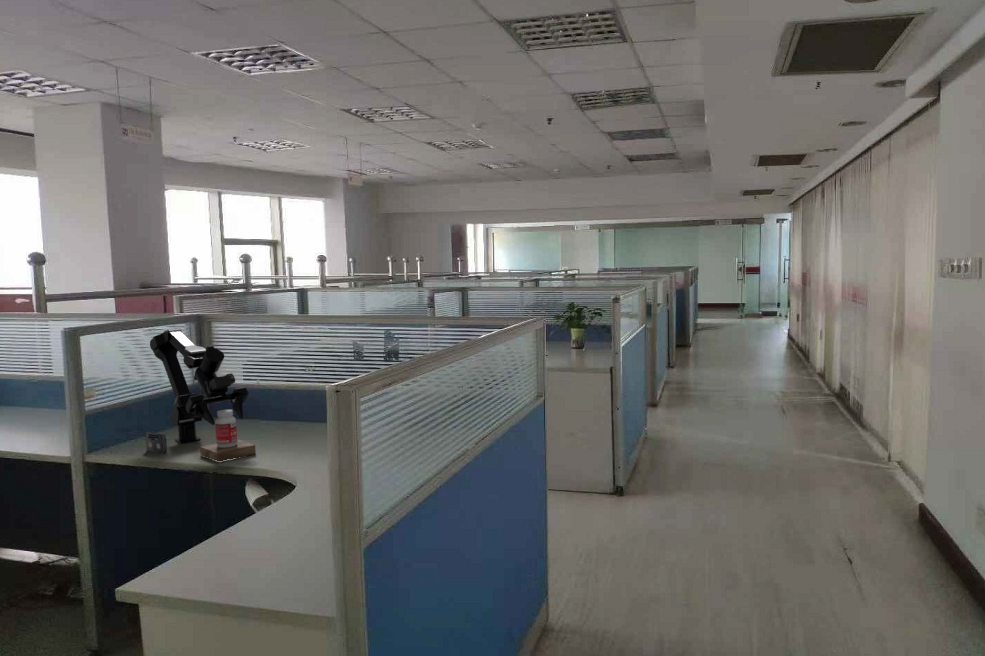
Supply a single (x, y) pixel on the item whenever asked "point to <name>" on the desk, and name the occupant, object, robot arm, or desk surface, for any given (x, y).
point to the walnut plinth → (228, 451)
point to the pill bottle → (226, 429)
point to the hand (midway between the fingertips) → (228, 421)
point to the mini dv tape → (156, 442)
